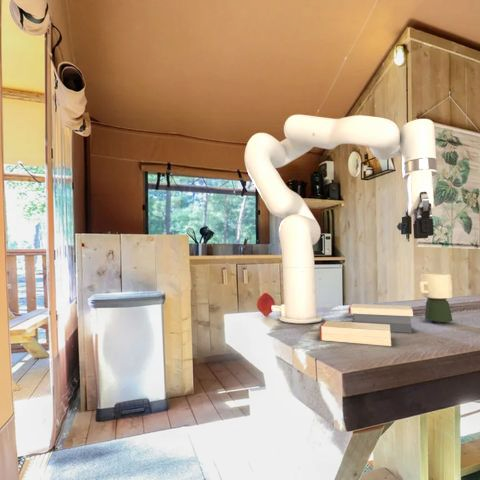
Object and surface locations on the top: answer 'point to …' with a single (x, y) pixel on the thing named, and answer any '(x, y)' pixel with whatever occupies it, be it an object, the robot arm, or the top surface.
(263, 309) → the onion
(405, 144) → the robot arm
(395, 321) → the grey rectangular block
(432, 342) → the top surface
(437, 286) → the character mug
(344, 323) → the cream rectangular block
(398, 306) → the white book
